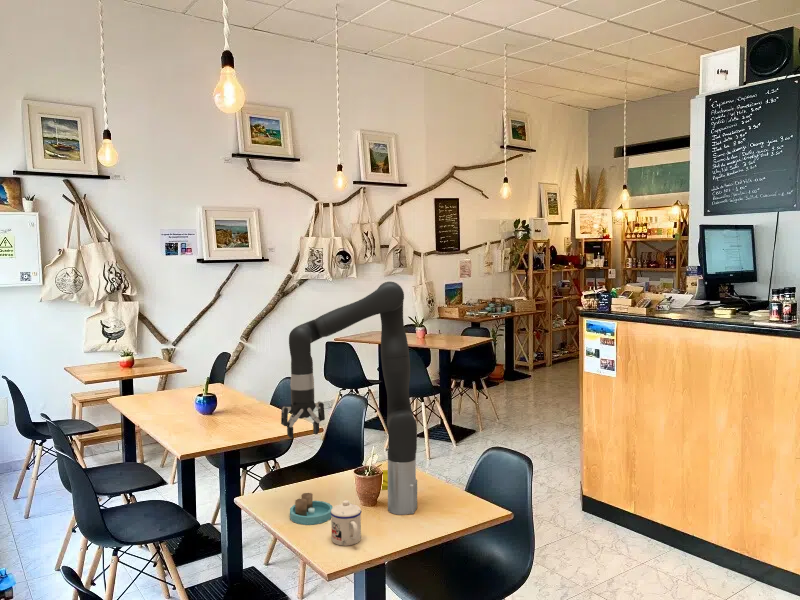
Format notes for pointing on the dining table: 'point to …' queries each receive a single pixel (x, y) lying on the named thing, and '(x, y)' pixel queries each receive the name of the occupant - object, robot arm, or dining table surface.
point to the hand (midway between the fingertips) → (303, 435)
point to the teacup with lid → (346, 524)
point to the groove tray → (313, 514)
